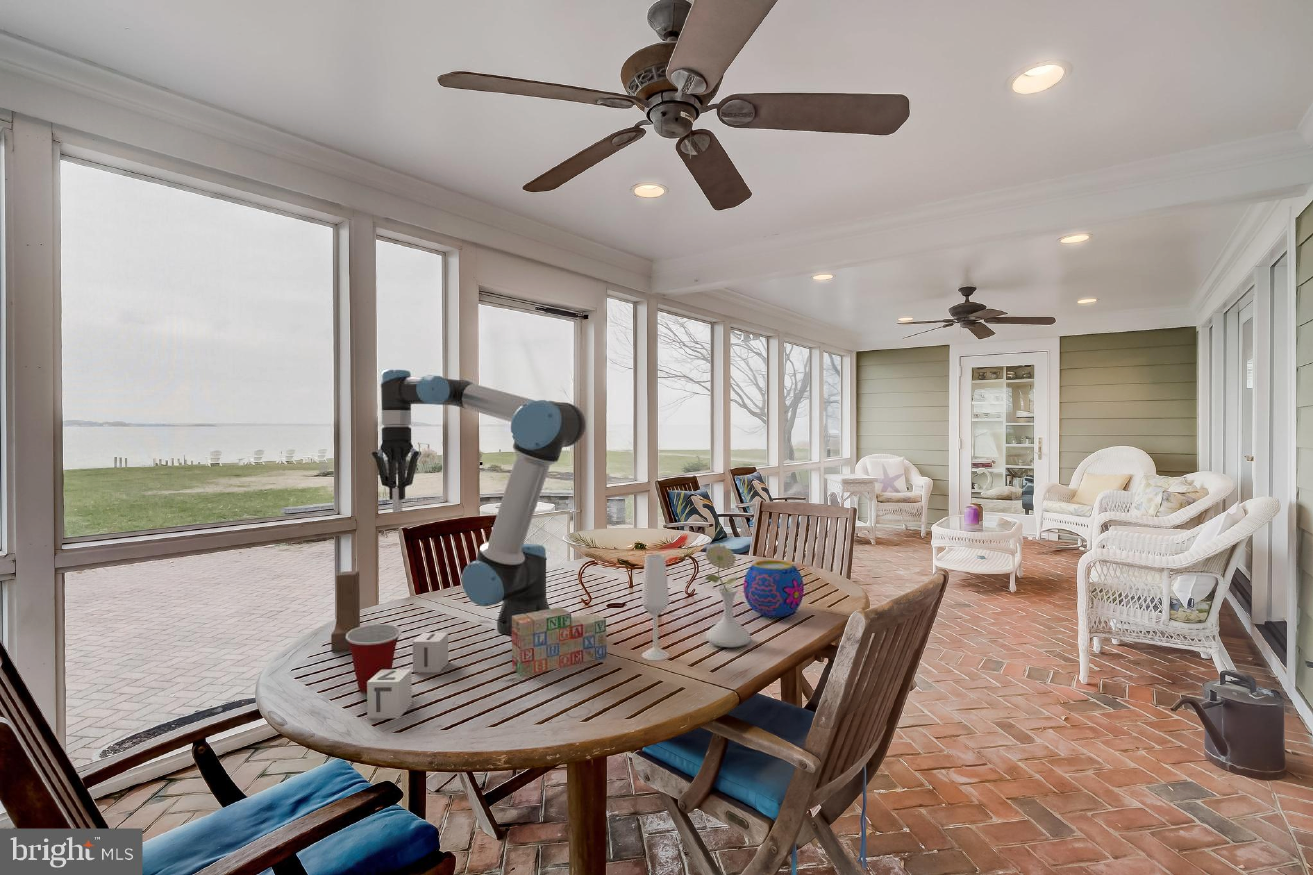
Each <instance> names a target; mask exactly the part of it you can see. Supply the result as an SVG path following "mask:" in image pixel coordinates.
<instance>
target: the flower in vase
mask: <svg viewBox="0 0 1313 875" xmlns="http://www.w3.org/2000/svg"><path fill="white" fill-rule="evenodd" d="M734 553H735V552H734V551H733V550H731V548H727V546H726V545H725V544H724V545H720V544H718V543H717V545H716V544H713V545H711V546H708V547H707V548H706V551H705V554H704V556H705V557H706V560H707V561H709V562H708V563H709V564H710V565H712V566H714V567H717V575H715V574H712V573H711V574H708V575H707V576H706V577H705V578H704V580H706V581H708V582H709V581H710V582H711V583H712V582H713V583H718V582H719V581H720V582H721V585H722V586H723V587H720V588H718V589H717V591H718V592H719V593H720V595H721V598H722V603H723V616H722V619H720V621H719V622H718V623H716V624H714V626H712V627H711V628H710V629H709V630H708V631H707V632H706V635H705V638H706V640H707V641H708V643H710V644H712V645H714V646H718V647H722V648H739V647H742V646H743V647H744V646H745V645H747V644H749V643H750V641H751V639H752V636H751V633H750V632H749V631H748V630H747V629H746V628H745V627H744V626H743V625H741V624H740V623H739V622H737V620H736V619H735V618H734V614H733V607H734V600H735V596H736V594H737V593H738V592H739V589H738V588H736V587H731V586H730V587H729V586H726V585H730V584H732V583H735V581H736V580H737V579H738V577H739V576H738V575H737V576H736V577H732V578H730V579H728V580H727V581H726V582H723V580H722V578H721V577H720V576H721V575H720V569H723V570H725V569H730V568H731V567H734V566H735V565H734V564H735V563H736V561H737V559H736V555H735V554H734Z"/></svg>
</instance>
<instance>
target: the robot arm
mask: <svg viewBox="0 0 1313 875" xmlns="http://www.w3.org/2000/svg"><path fill="white" fill-rule="evenodd" d="M380 380H381V381H380V382H381V383H380V391H381V393H380V394H381V395H380V397H381V425H383V427H381V444H380V448H378V449H377V450H376V451H372V453H371V455H372V457H373V458H374V460H375V463H376V467H377V470H378V475H379V478H380V482H381V485H382V486H383V487H387V488H388V490H389V492H388V494H389V500H391V501H392V513H400V512H403V500H405V499H406V488H407V487H408V486H411V485H412V484H413V482H414V478H415V472H416V469H417V465H418V464H417V463H418V461H419V459H420V457H421V455H422V451H421V450H417V449H416V448H414V446H413V444H412V428H411V425H412V405H436V406H437V405H438V406H439V405H440V406H454V407H459V408H462V409H465V410H470V411H473V412H476V413H480V414H483V415H486V416H489V417H493V418H496V419H500V420H503V421H507V422H510V433H511V434H512V439H513V441H514V442H513V444H512V448H513V451H514V452H515V455H516V456H515V459H514V463H513V465H512V468H511V472H510V473H509V476H508V480H507V483H506V487H505V490H504V493H503V496H502V498H501V502H500V506H499V508H498V511H497V515H496V517H495V520H494V524H493V525H492V526H493V527H492V530H491V533H490V536H489V540H488V541H486V542H484V543H482V544H481V545H480V547H479V550H478V553H477V556H476V559H475V560H472V561H471V562H470V563H469V564H467V565H466V566H465V567H464V569H463V571H462V574H461V585H462V589H463V590H464V591H465V595H466V597H467V598H468V599H469V600H470V601H471V602H472V603H474V604H475V605H477V606H479V607H489V606H494V605H495V606H496V605H498V604H500V603H501V602H502V605H501V608H500V611H499V614H498V617H497V621H496V630H497V632H499V633H501V634H504V635H506V636H511V629H512V616H514V615H519V614H526V613H531V612H537V611H541V610H547V609H551V608H550V605H549V602H548V598H547V555H546V554H547V552H546V548H545V546H544V545H541V544H535V543H525V541H526V538H527V535H528V532H529V530H530V525H531V524H532V520H533V517H534V514H535V512H536V508H537V505H538V502H539V499H540V496H541V493H542V490H543V487H544V485H545V481H546V478H547V475H548V473H549V469H550V467H551V465H553V464H555V463H558V462H559V459H560V456H561V452H562V450H563V448H566V447H567V448H568V447H572V446H574V445H575V444H577V443H579V442H580V440H581V439H582V438H583V437H584V435H585V432H586V426H587V425H586V424H587V423H586V422H587V421H586V418H585V416H584V413H583V412H582V410H581V409H580V408H579V407H578V406H577V405H574V404H572V403H569V402H565V401H564V402H560V401H559V402H558V401H552V400H545V399H540V400H539V399H538V400H535V399H531V398H528V397H525V396H524V397H523V396H520V395H516V394H514V393H509V392H506V391H501V390H498V389H495V388H494V389H493V388H490V387H486V386H483V385H481V384H480V385H478V384H475V383H473V382H471V381H469V380H466V379H453V378H444V377H443V376H441V375H432V374H431V375H430V374H429V375H421V376H412V374H411V371H409V370H406V369H385V370H383V371H382V373H381V379H380ZM384 455H385V457H386V458H387V459H386V460H387V464H388V465H387V466H388V468H387V466H386V462H385V459H384ZM409 455H410V458H409V463H408V466H407V469H406V465H407V464H406V463H407V458H408V457H409ZM387 469H388V470H387ZM406 471H407V472H406Z"/></svg>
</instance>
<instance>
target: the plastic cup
mask: <svg viewBox="0 0 1313 875" xmlns="http://www.w3.org/2000/svg"><path fill="white" fill-rule="evenodd" d="M401 634H402V628H400V627H399V626H397V625H393V624H389V623H387V624H386V623H376V624H375V623H374V624H367V625H363V626H360V627H358V628H355V629H353V630H351V631H349V632H348V633H347V634H346V640H347V641H348V643H349V646H350V650H349V651H350V654H351V659H352V665H353V670H354V675H355V677H356V678H355V679H356V681H357V682H356V683H357V688H358V690H359V691H360V692H361V693H367V682H368V681H369V680H370V679H371V678H372V677H373V676H375V675H376V674H377V673H378V672H379V671H380V670H392V669H393V665H394V664H393V663H394V658H395V653H396V652H395V651H396V647H397V643H398V641H399V638H400V636H401Z"/></svg>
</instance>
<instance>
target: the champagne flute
mask: <svg viewBox="0 0 1313 875" xmlns="http://www.w3.org/2000/svg"><path fill="white" fill-rule="evenodd" d="M666 565H667V564H666V556H665V554H659V553H655V554H654V553H652V554H650V553H649V554H647V555H645V556H644V567H643V579H642V590H641V591H642V592H641V605H642V606H643V608H644V609H645V610H646V611H647V612H648V613H649V614H650V615H652V647H651V648H649V649H648V650H646V651H645V652H642V655H641V657H642V658H643V659H645V660H649V661H662V660H666V659H668V658H669V657H670V653H669V652H668V651H665V650H664V649H662V648H661V647H659V615H661V614H662V613H663V612H664V611H665V610H666V609H667V608H668V605H669V604H670V595H669V587H668V576H667V566H666Z"/></svg>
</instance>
